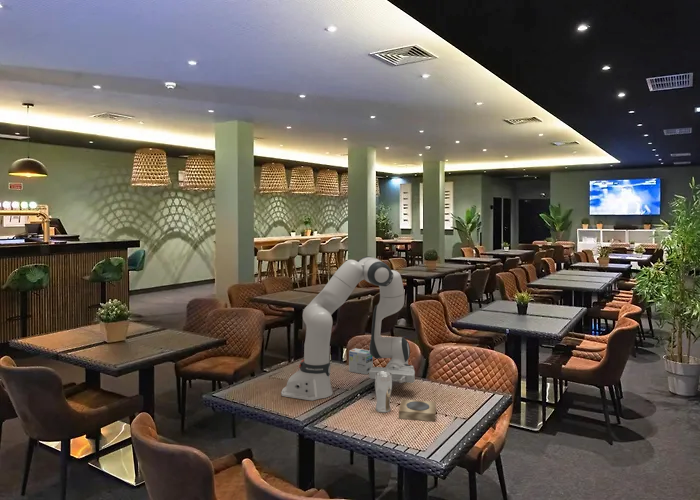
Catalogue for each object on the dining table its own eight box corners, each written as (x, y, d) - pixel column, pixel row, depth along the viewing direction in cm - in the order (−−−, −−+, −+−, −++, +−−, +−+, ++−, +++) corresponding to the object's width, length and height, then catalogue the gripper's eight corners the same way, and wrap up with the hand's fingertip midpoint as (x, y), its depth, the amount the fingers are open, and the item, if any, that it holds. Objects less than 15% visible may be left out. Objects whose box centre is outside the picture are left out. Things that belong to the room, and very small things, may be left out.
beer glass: (390, 413, 204) (391, 376, 203) (373, 412, 205) (373, 375, 204) (392, 407, 210) (393, 371, 209) (375, 406, 212) (376, 370, 211)
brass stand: (398, 418, 199) (398, 410, 199) (401, 406, 212) (401, 398, 212) (435, 421, 197) (435, 413, 196) (435, 409, 209) (435, 401, 209)
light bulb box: (373, 371, 259) (373, 350, 258) (366, 375, 253) (366, 353, 252) (355, 368, 264) (355, 347, 264) (348, 371, 259) (348, 350, 258)
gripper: (372, 362, 234) (365, 370, 221) (417, 366, 229) (412, 375, 216) (372, 375, 235) (365, 385, 222) (416, 379, 230) (412, 389, 216)
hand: (388, 380), depth 219 cm, fingers open, 8 cm apart
